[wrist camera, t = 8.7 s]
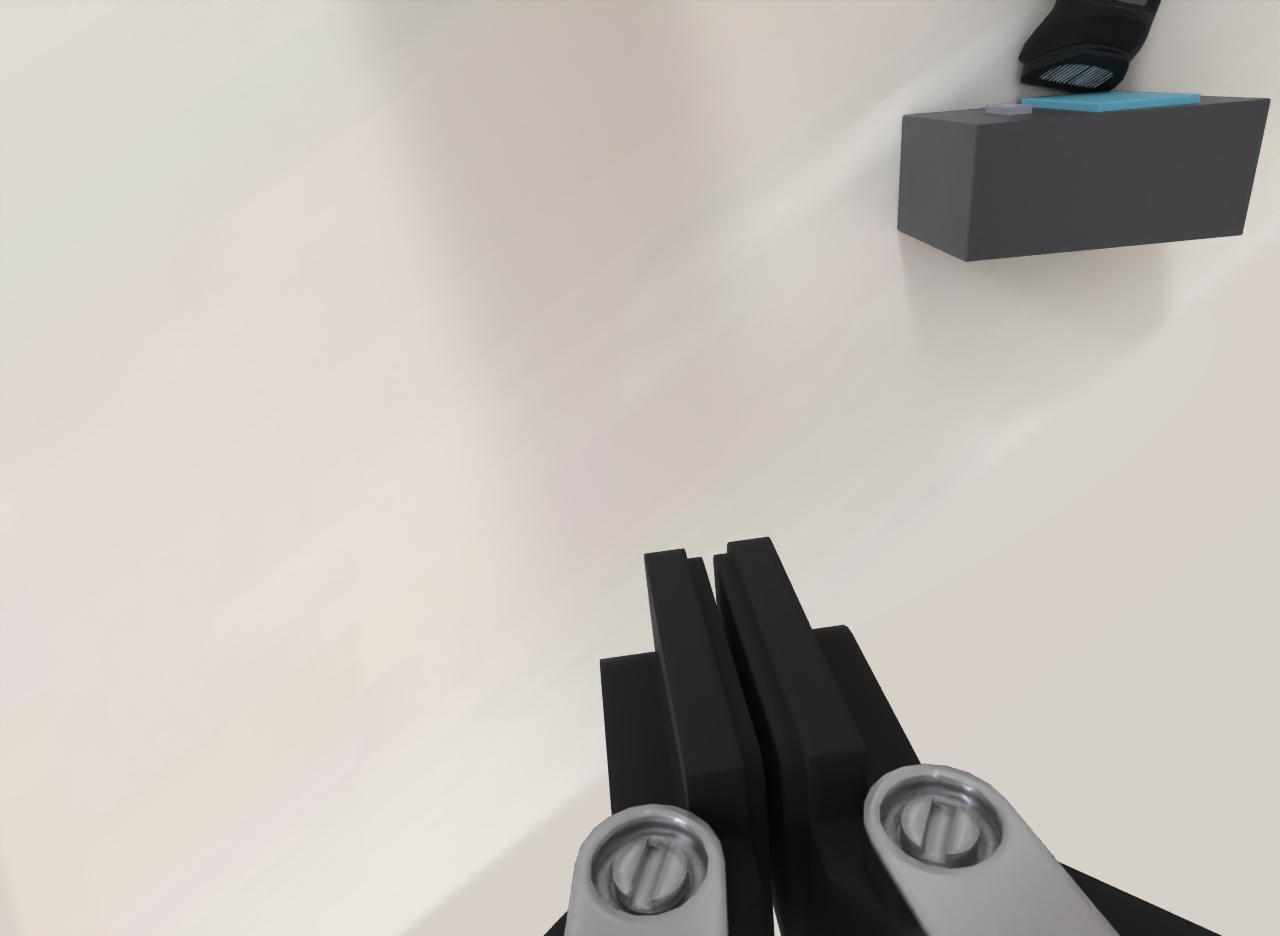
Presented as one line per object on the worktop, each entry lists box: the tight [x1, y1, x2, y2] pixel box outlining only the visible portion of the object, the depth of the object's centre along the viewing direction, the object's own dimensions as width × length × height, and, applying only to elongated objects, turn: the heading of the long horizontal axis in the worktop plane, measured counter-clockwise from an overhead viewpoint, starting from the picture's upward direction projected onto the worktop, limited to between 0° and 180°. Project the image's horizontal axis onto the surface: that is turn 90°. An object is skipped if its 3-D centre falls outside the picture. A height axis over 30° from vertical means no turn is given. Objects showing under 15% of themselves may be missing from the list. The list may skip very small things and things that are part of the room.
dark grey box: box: [898, 91, 1271, 262], centre depth 29 cm, size 4×6×9 cm
